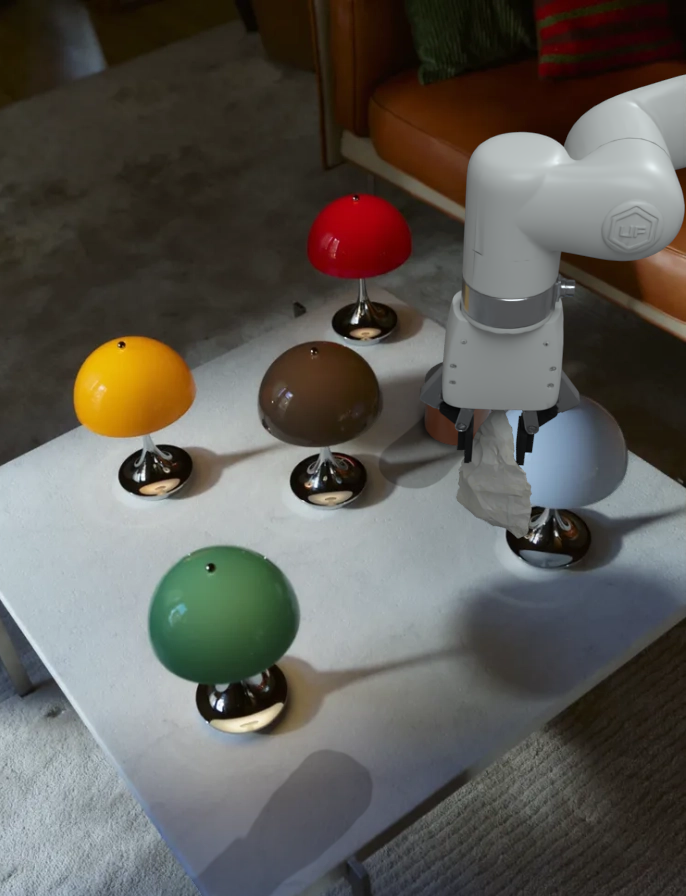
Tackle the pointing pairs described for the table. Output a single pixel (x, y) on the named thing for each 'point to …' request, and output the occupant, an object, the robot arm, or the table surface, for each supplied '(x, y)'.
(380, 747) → the table surface
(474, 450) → the stone tool
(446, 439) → the canister
